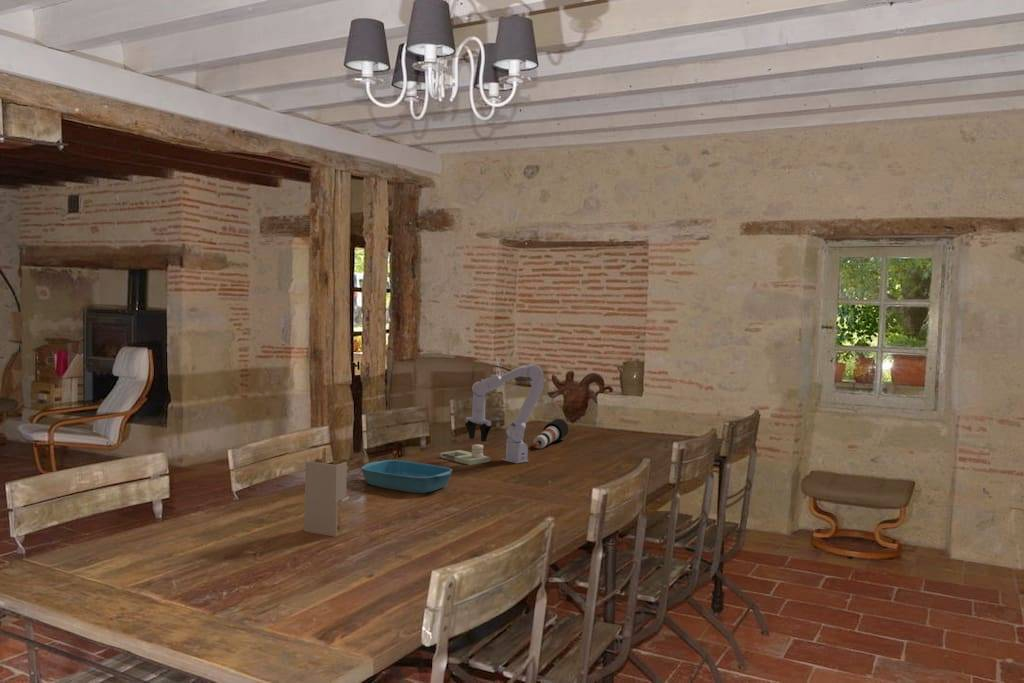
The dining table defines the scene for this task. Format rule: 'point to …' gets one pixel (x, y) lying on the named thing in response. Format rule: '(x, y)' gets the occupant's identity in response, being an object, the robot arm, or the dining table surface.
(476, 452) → the white round knob
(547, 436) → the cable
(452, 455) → the pale green panel
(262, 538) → the dining table surface
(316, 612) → the dining table surface
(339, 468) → the tall grey upright box
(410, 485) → the casserole dish
